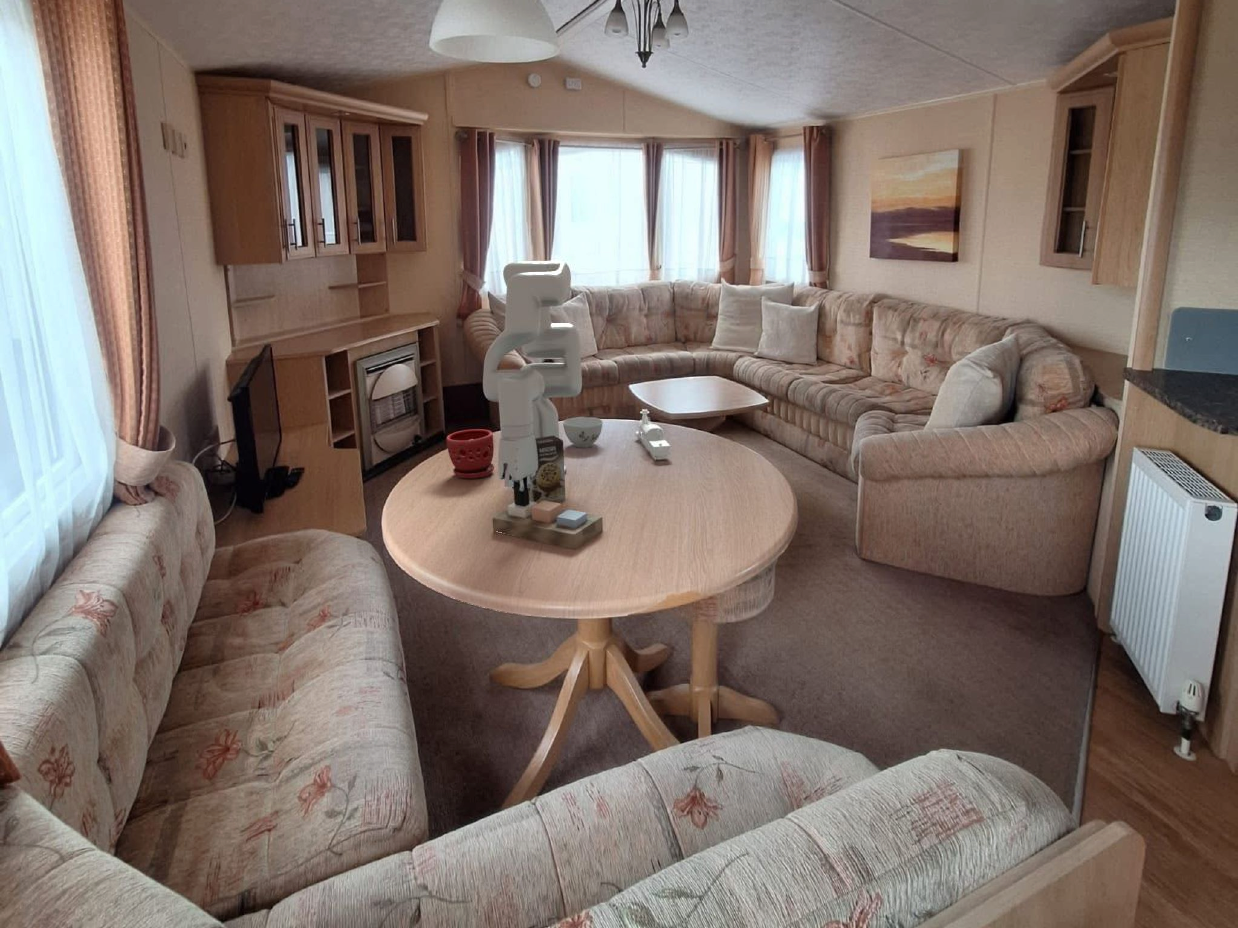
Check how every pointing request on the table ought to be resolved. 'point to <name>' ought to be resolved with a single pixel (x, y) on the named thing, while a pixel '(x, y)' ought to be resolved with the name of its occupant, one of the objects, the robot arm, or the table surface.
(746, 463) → the table surface
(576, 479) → the table surface
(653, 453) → the toy train
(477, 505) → the table surface
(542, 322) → the robot arm
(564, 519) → the key blue
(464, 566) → the table surface
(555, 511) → the key terracotta
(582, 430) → the teacup
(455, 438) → the plant pot
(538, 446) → the coffee box
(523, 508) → the key white
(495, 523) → the key panel
